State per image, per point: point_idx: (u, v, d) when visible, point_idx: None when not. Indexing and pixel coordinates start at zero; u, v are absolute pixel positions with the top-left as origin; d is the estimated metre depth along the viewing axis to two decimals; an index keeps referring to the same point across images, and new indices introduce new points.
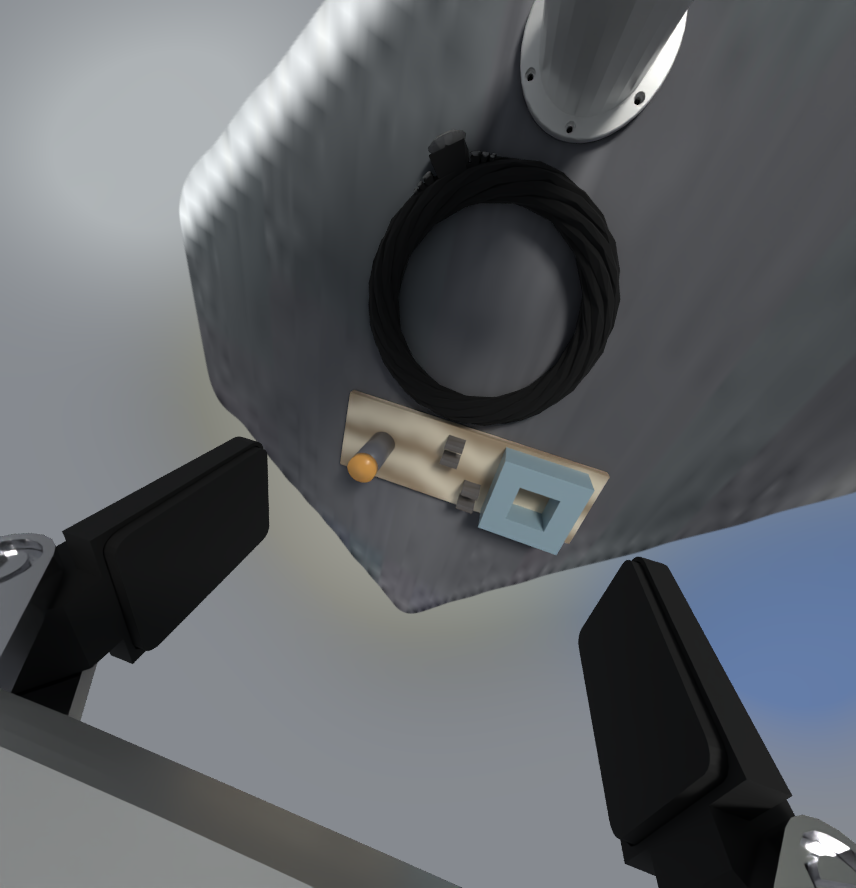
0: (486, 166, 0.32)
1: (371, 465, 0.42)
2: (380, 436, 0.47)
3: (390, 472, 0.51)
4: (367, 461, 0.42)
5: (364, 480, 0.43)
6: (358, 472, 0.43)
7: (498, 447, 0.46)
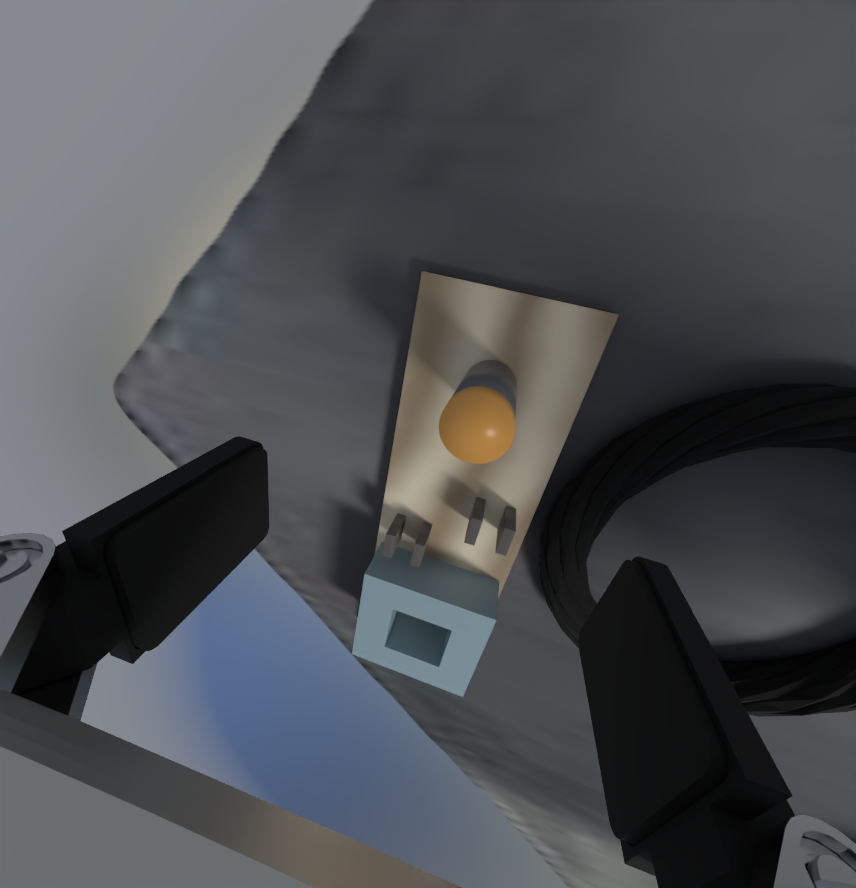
0: None
1: (492, 458, 0.17)
2: None
3: (422, 397, 0.25)
4: (503, 450, 0.16)
5: (445, 435, 0.17)
6: (467, 422, 0.16)
7: (497, 571, 0.30)
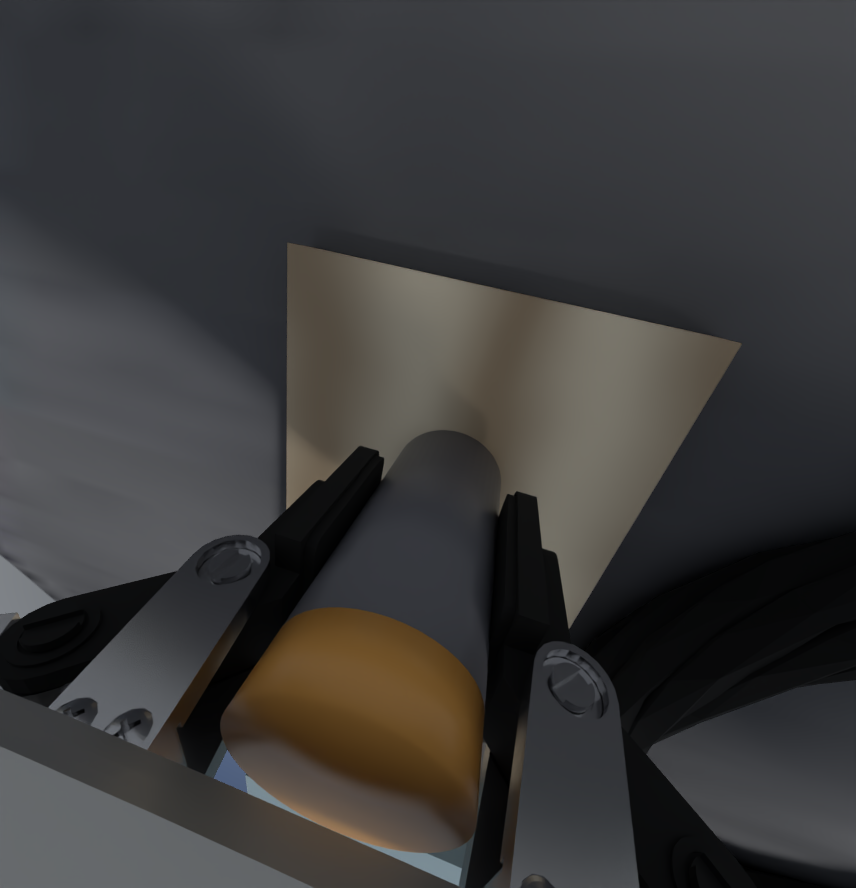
0: None
1: (408, 845, 0.05)
2: None
3: None
4: (440, 844, 0.05)
5: (252, 767, 0.05)
6: (308, 758, 0.04)
7: None
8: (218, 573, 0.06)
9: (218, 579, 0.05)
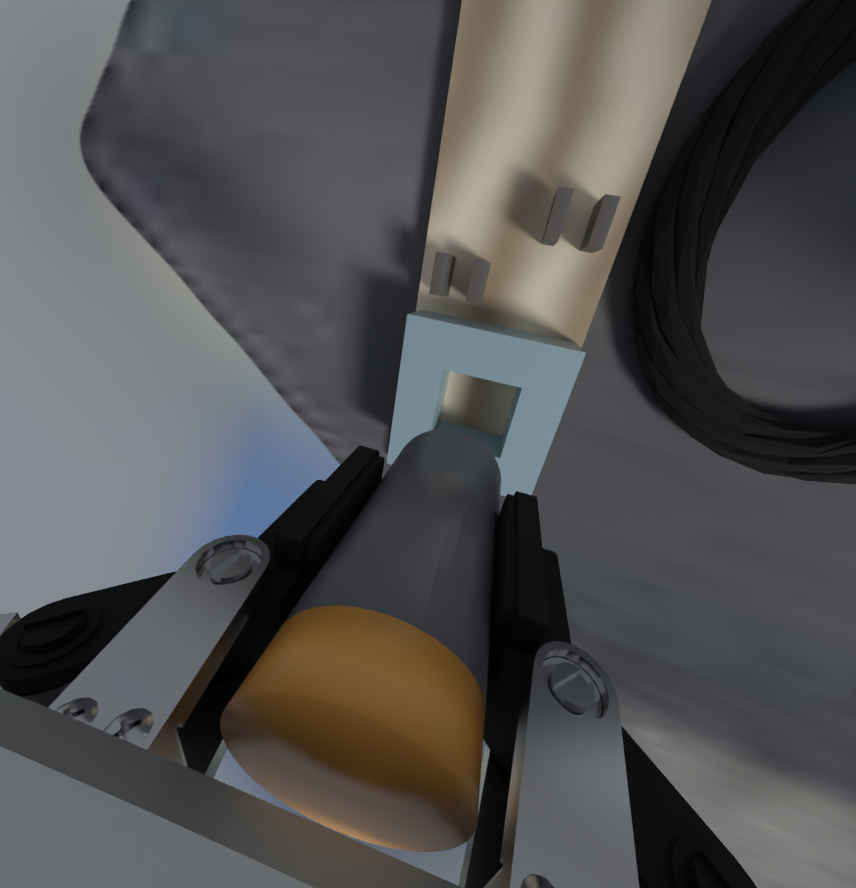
0: None
1: (408, 844, 0.05)
2: None
3: (486, 28, 0.18)
4: (441, 842, 0.05)
5: (252, 765, 0.05)
6: (308, 757, 0.04)
7: (574, 327, 0.23)
8: (218, 573, 0.06)
9: (218, 579, 0.05)
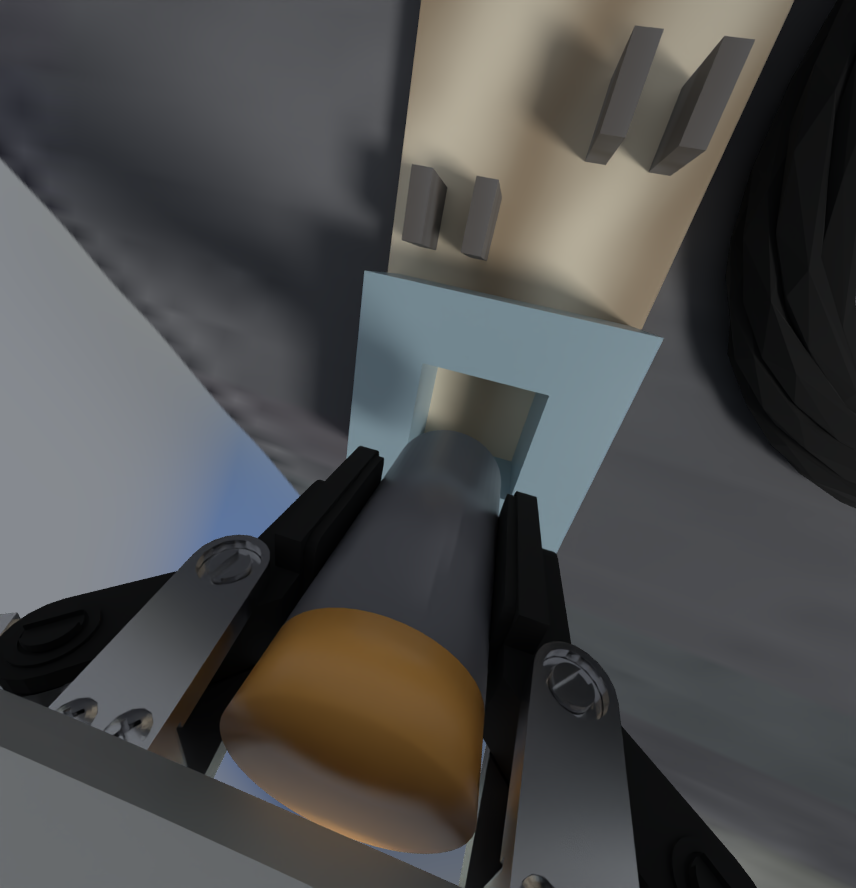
0: None
1: (407, 846, 0.05)
2: None
3: None
4: (440, 844, 0.05)
5: (251, 767, 0.05)
6: (307, 759, 0.04)
7: (630, 301, 0.15)
8: (218, 573, 0.06)
9: (218, 579, 0.05)
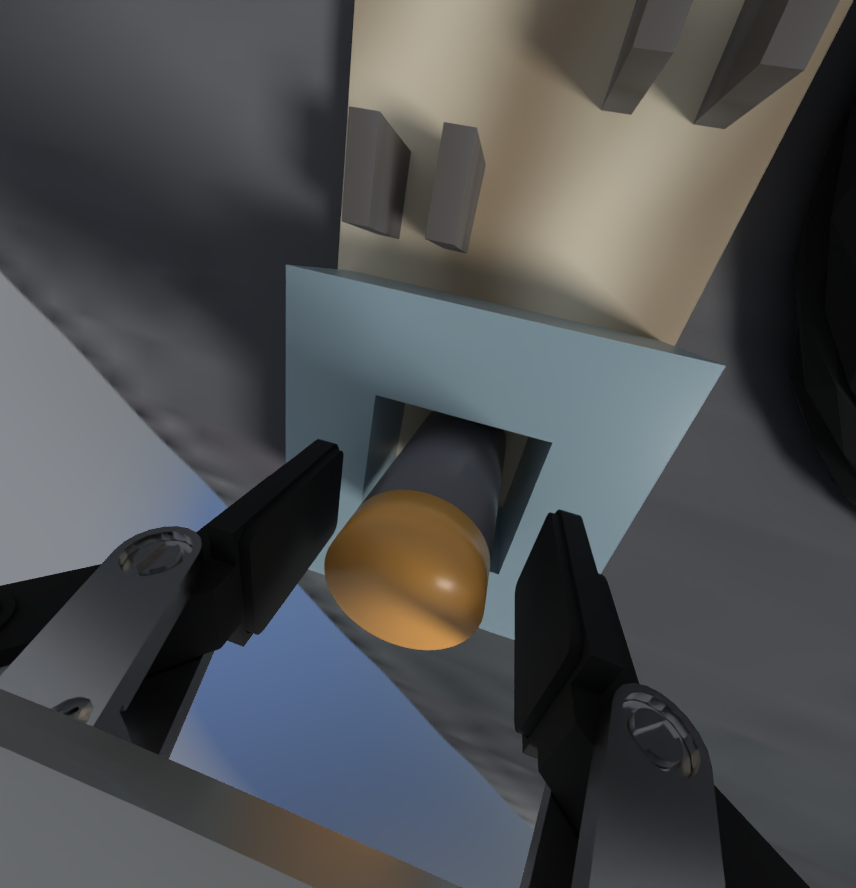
0: None
1: (439, 644, 0.08)
2: None
3: None
4: (461, 634, 0.07)
5: (340, 592, 0.08)
6: (380, 575, 0.07)
7: (660, 307, 0.11)
8: (145, 566, 0.05)
9: (146, 571, 0.05)
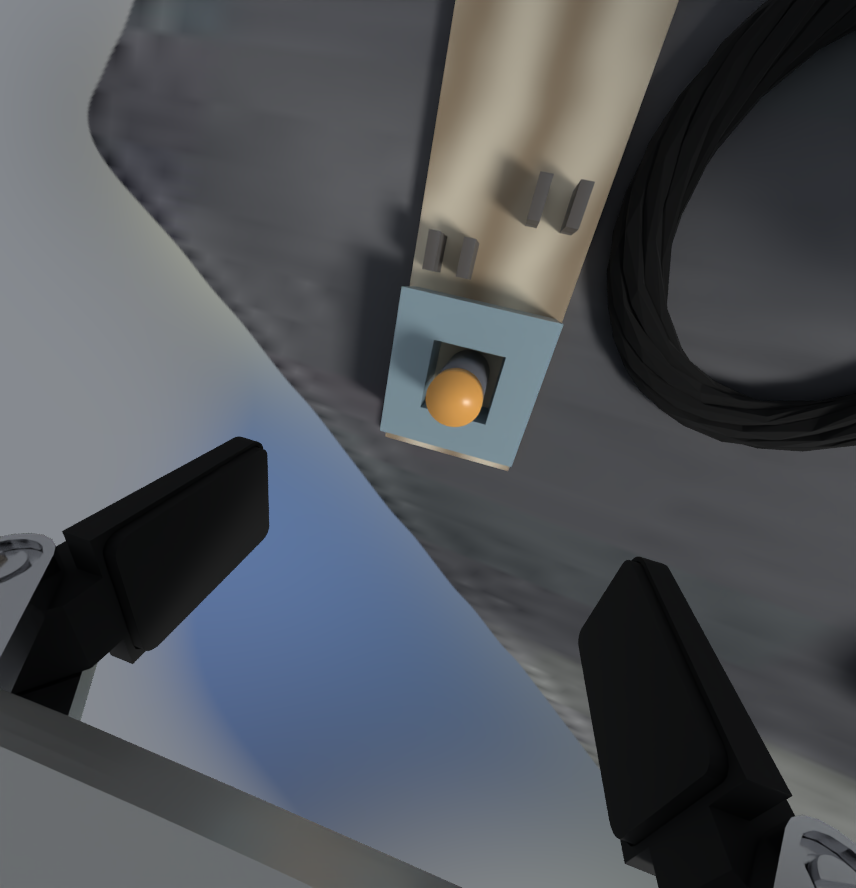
0: None
1: (466, 422, 0.22)
2: None
3: (477, 24, 0.20)
4: (474, 415, 0.22)
5: (430, 405, 0.22)
6: (446, 394, 0.21)
7: (554, 304, 0.25)
8: None
9: None
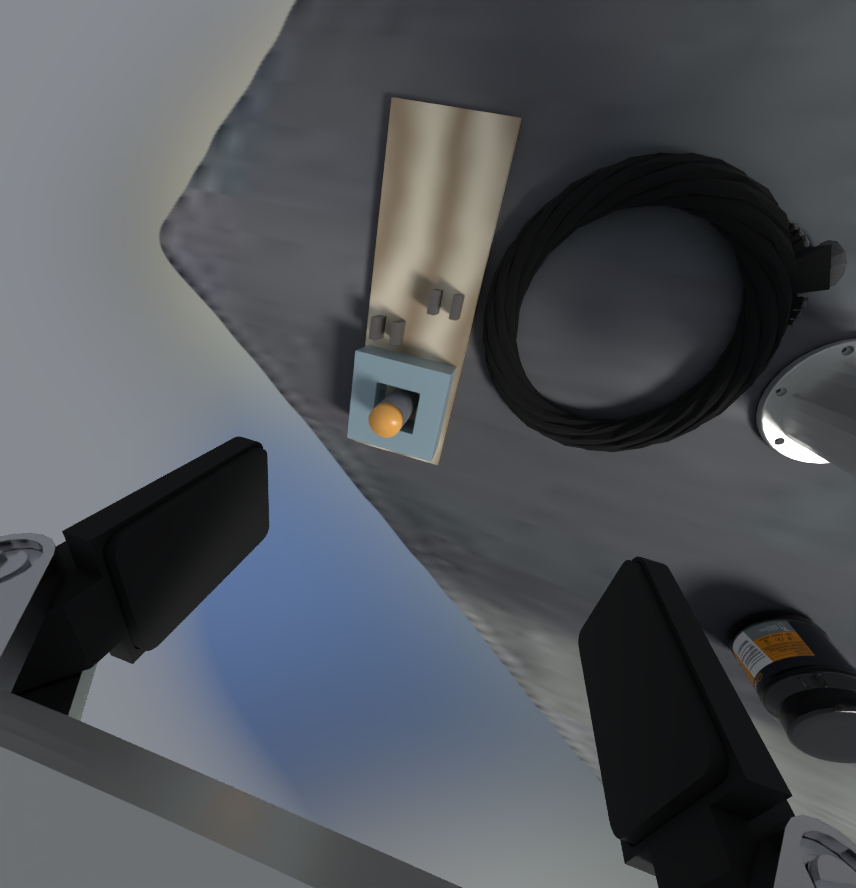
0: (786, 317, 0.30)
1: (392, 435, 0.37)
2: (415, 406, 0.41)
3: (394, 204, 0.35)
4: (396, 431, 0.36)
5: (371, 424, 0.37)
6: (380, 418, 0.36)
7: (455, 358, 0.40)
8: None
9: None
